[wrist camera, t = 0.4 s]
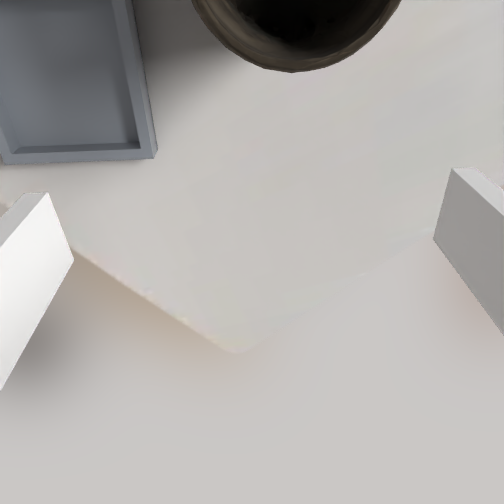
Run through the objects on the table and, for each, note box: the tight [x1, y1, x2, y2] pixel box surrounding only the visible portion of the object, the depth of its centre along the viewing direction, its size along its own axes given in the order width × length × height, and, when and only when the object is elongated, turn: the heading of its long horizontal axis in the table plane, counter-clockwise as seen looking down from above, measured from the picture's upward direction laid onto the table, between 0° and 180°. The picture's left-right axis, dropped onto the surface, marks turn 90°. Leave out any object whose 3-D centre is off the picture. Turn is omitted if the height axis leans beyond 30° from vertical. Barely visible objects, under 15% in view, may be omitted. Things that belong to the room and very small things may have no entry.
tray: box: [0, 0, 158, 165], centre depth 34 cm, size 14×14×2 cm
